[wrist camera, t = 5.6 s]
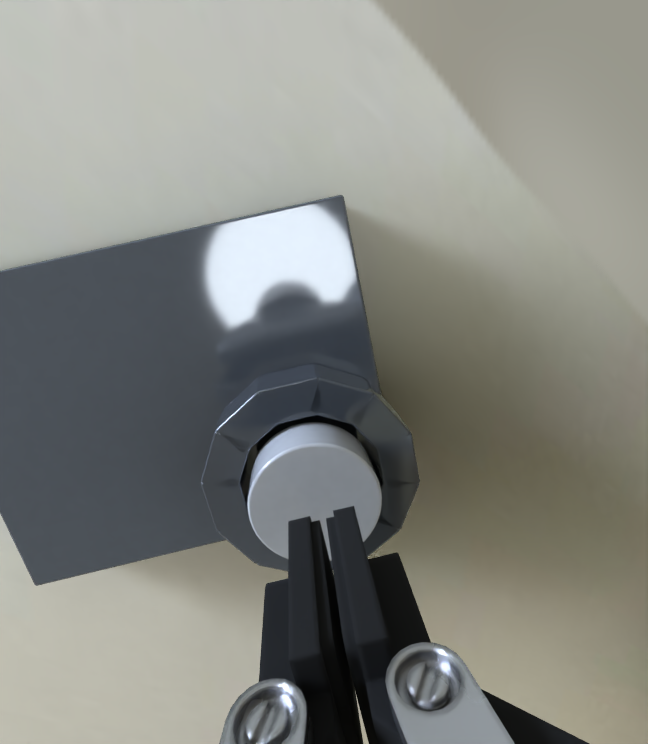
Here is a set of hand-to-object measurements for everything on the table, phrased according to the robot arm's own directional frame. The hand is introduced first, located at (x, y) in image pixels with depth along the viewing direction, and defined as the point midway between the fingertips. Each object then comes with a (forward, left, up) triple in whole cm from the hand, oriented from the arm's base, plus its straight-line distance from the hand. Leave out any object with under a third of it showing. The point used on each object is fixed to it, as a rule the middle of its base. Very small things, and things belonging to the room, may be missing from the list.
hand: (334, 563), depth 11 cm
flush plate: (+4, -3, -8) cm, 9 cm away
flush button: (0, 0, -4) cm, 4 cm away
